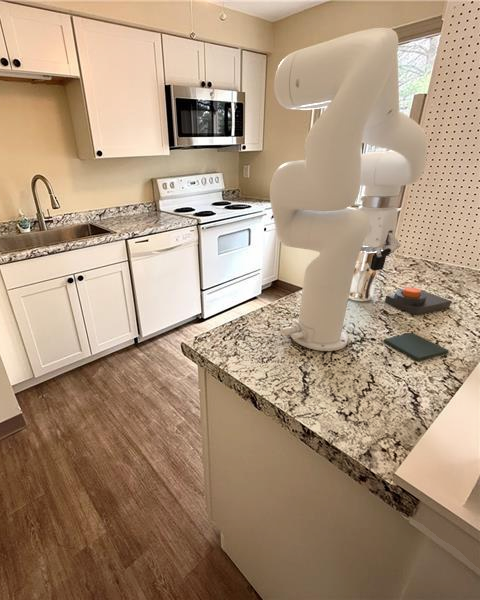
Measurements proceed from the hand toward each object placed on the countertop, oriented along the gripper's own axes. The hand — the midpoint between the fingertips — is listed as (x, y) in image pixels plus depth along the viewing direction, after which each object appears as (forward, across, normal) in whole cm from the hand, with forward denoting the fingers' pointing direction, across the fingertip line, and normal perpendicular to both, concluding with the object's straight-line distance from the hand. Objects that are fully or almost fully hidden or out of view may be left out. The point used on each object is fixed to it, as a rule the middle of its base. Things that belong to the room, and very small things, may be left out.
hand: (365, 265), depth 89 cm
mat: (+11, +25, -10) cm, 29 cm away
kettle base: (+10, +10, +10) cm, 17 cm away
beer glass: (+10, 0, 0) cm, 10 cm away
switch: (+7, +10, +6) cm, 13 cm away
